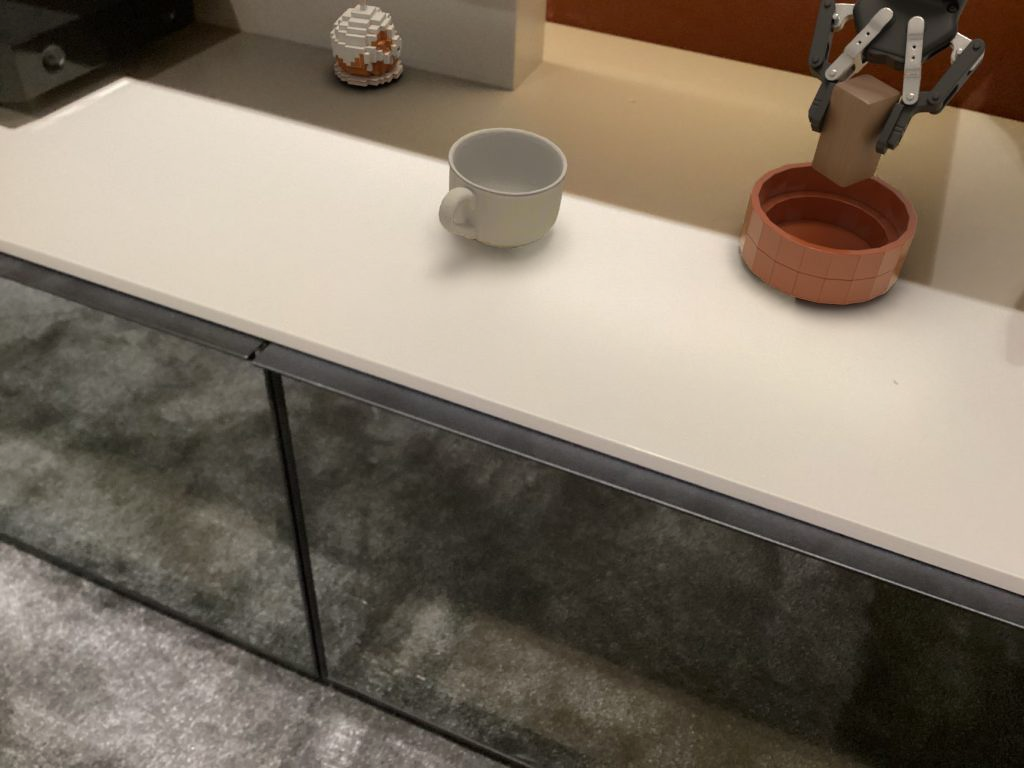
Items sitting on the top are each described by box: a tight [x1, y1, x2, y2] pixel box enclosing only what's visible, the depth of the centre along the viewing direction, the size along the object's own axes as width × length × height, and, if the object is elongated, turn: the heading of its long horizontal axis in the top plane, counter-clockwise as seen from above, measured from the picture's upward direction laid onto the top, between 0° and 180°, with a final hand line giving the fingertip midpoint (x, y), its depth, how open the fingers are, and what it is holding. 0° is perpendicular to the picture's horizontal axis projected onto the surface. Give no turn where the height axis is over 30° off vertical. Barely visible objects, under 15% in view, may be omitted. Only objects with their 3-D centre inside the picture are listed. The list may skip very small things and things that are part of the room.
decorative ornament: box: [329, 0, 404, 87], centre depth 108 cm, size 8×8×15 cm
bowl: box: [739, 161, 918, 306], centre depth 88 cm, size 14×14×6 cm
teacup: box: [438, 127, 569, 249], centre depth 89 cm, size 14×11×8 cm
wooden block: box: [812, 73, 902, 187], centre depth 81 cm, size 4×4×8 cm
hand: (847, 139), depth 80 cm, fingers closed on wooden block, 5 cm apart
